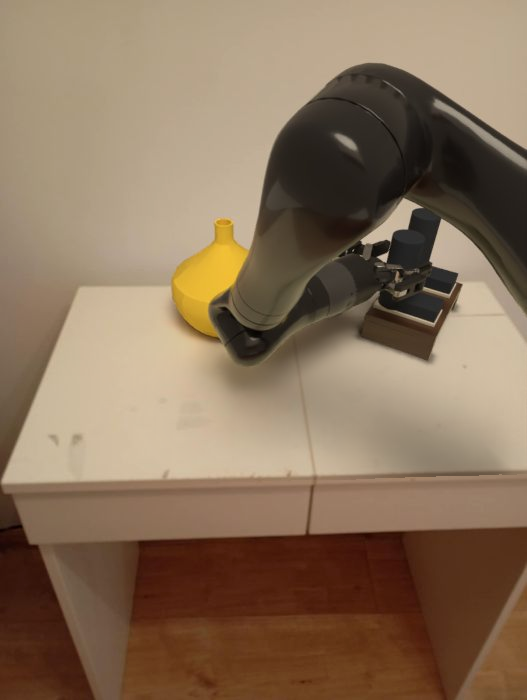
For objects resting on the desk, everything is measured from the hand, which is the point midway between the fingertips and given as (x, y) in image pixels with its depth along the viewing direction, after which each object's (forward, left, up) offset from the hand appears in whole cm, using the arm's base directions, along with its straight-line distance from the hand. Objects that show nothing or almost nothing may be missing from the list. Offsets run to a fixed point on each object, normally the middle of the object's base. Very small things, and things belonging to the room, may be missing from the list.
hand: (408, 255), depth 76 cm
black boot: (-2, -9, -9) cm, 13 cm away
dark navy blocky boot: (-2, +1, -9) cm, 10 cm away
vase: (+25, +17, -15) cm, 33 cm away
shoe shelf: (-2, -4, -14) cm, 15 cm away
